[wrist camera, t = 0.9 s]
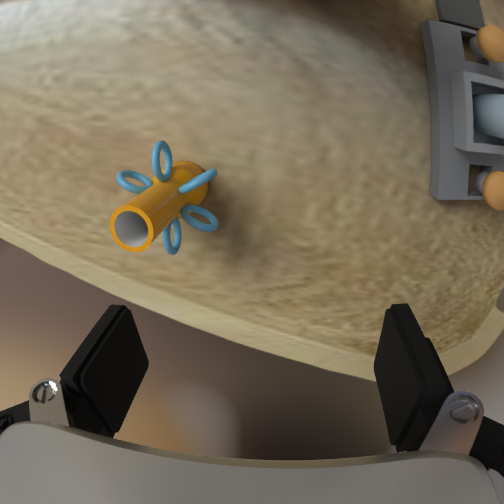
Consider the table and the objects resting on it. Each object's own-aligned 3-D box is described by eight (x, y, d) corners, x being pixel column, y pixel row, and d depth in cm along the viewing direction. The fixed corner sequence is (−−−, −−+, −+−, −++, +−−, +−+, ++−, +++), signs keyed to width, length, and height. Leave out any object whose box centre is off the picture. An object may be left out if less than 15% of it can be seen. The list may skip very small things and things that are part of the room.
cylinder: (249, 171, 36) (227, 211, 22) (209, 241, 40) (173, 309, 27) (160, 124, 34) (91, 138, 21) (129, 196, 38) (62, 243, 25)
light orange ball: (461, 27, 22) (480, 20, 18) (488, 35, 21) (508, 30, 17) (466, 60, 23) (487, 57, 19) (493, 67, 23) (514, 66, 19)
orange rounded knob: (471, 163, 29) (490, 171, 25) (496, 165, 28) (516, 174, 24) (468, 199, 31) (487, 210, 27) (493, 199, 30) (512, 210, 26)
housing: (420, 23, 25) (439, 13, 20) (498, 43, 23) (521, 39, 18) (429, 194, 34) (449, 207, 29) (502, 195, 32) (524, 207, 27)
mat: (428, -24, 21) (431, -27, 20) (471, -12, 20) (474, -14, 19) (439, 20, 24) (442, 19, 23) (481, 31, 23) (485, 30, 22)
